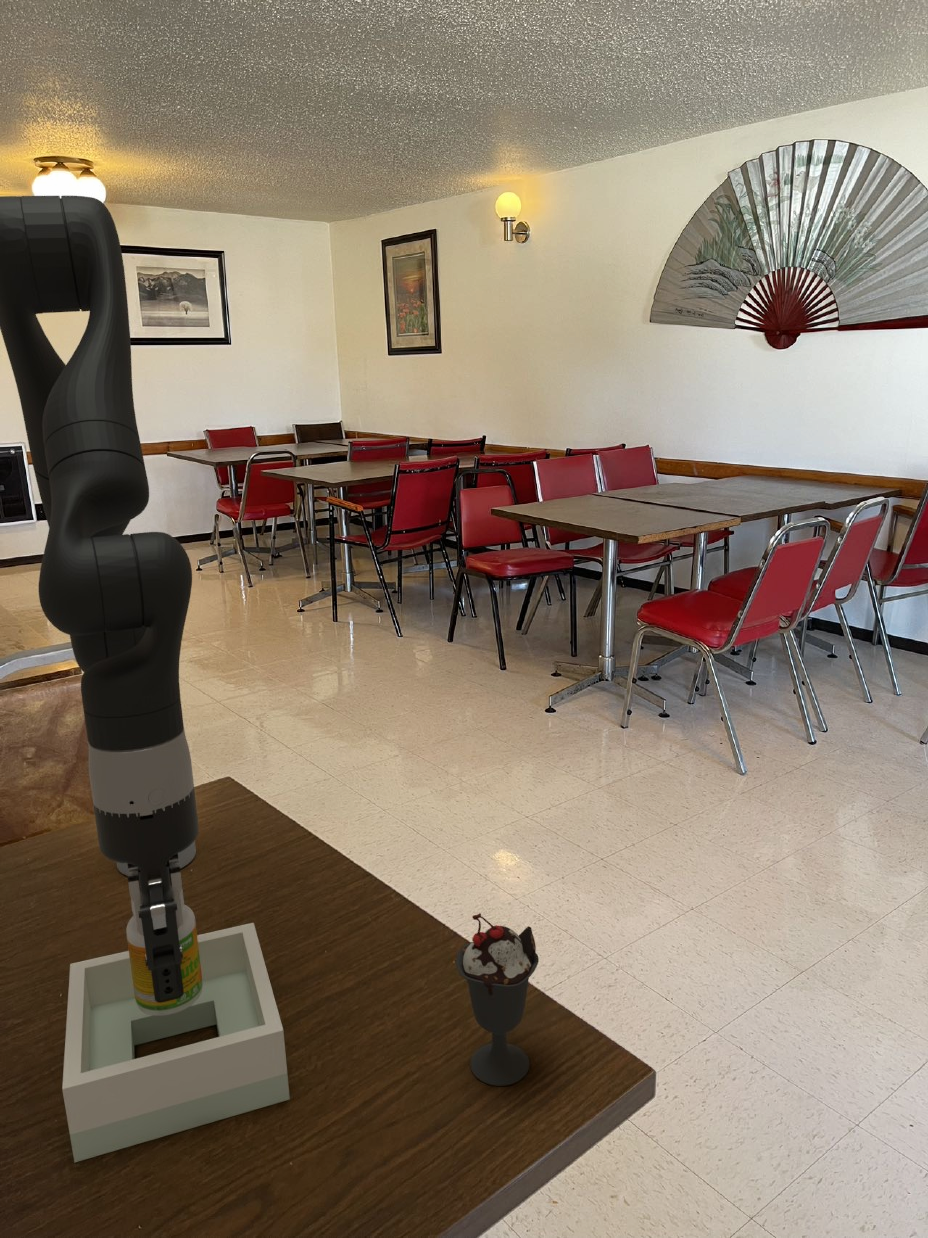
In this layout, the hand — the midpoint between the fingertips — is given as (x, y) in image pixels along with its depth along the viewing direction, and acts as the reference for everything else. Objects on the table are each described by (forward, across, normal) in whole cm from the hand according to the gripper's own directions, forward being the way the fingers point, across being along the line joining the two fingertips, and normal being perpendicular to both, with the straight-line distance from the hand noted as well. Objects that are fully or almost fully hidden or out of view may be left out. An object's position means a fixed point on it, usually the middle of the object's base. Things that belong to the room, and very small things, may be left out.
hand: (167, 975), depth 76 cm
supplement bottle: (+2, 0, 0) cm, 2 cm away
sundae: (+9, +11, +25) cm, 29 cm away
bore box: (+8, 0, 0) cm, 8 cm away
